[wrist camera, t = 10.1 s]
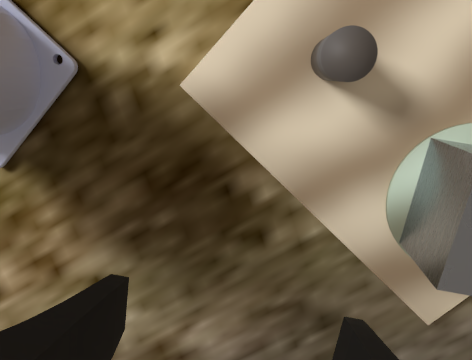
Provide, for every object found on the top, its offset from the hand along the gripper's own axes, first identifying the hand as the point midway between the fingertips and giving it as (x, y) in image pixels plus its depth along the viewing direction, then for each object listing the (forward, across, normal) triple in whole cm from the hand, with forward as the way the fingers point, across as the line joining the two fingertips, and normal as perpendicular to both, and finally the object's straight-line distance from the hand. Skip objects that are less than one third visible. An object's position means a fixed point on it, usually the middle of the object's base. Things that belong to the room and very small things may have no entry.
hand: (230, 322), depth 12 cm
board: (+9, -7, -6) cm, 13 cm away
